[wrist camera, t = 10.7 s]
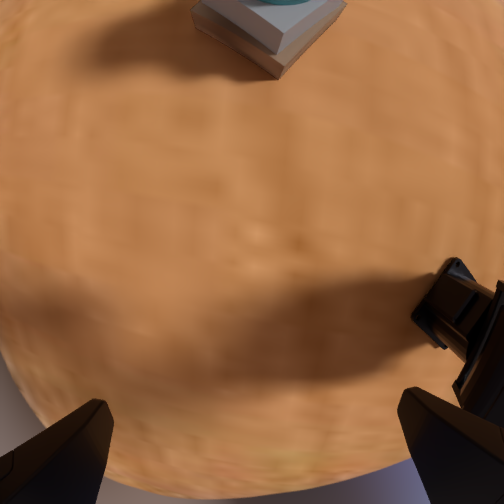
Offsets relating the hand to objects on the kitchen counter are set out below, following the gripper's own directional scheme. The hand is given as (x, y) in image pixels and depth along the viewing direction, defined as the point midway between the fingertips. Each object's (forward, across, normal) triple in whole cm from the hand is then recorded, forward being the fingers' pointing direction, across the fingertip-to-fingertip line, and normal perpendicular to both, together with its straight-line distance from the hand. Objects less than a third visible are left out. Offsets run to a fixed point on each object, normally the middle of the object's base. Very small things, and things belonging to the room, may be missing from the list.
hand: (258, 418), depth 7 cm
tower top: (+10, -2, -18) cm, 21 cm away
